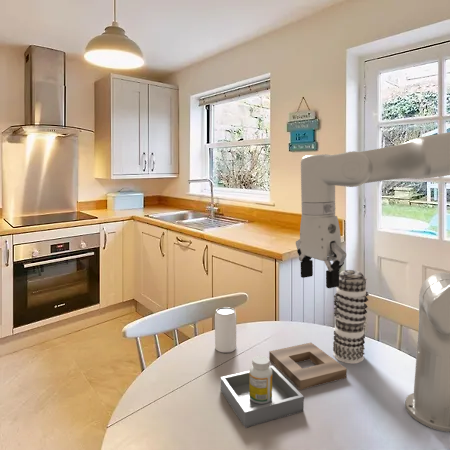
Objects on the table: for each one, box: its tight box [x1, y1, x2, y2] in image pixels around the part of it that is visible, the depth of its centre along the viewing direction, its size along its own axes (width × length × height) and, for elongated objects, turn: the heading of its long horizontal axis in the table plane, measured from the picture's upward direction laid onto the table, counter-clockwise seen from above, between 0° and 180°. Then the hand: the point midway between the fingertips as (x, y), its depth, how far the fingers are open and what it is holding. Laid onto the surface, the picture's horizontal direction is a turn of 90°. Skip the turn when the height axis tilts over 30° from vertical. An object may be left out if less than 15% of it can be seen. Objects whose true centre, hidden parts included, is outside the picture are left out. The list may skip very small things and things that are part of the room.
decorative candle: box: [332, 269, 369, 364], centre depth 107 cm, size 9×9×25 cm
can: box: [214, 306, 237, 354], centre depth 113 cm, size 6×6×12 cm
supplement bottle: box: [248, 355, 272, 404], centre depth 88 cm, size 5×5×10 cm
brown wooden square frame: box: [268, 342, 348, 391], centre depth 102 cm, size 16×14×2 cm
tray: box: [220, 364, 305, 429], centre depth 88 cm, size 14×14×4 cm
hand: (319, 281), depth 89 cm, fingers open, 9 cm apart
